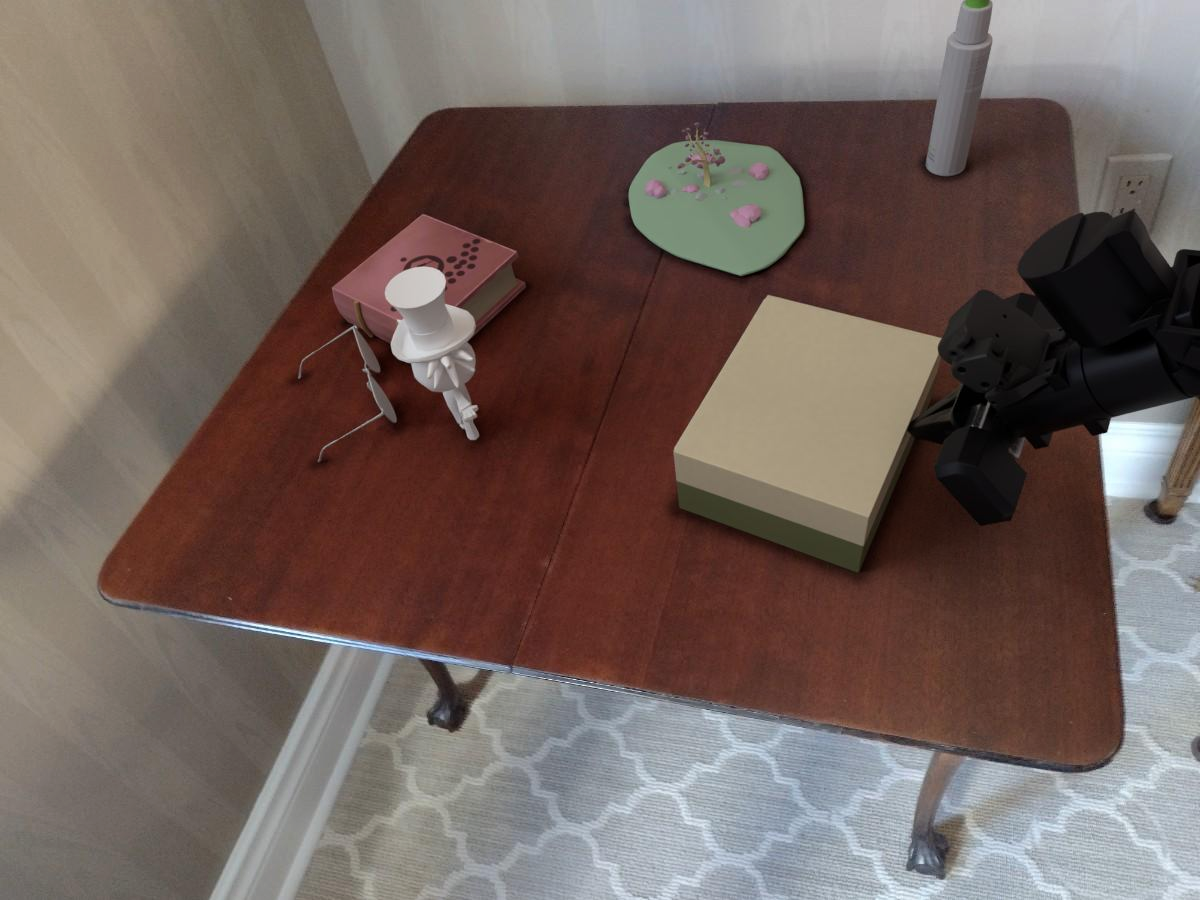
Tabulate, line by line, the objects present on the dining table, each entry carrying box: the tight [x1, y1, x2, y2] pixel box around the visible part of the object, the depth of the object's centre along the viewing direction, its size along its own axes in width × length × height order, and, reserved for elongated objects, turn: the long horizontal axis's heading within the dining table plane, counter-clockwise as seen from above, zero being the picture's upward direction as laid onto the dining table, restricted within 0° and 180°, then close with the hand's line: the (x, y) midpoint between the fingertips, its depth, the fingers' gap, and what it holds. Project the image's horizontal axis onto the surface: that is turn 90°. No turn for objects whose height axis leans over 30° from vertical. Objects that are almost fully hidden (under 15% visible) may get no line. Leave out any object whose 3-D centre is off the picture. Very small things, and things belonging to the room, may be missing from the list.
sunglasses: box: [297, 325, 398, 463], centre depth 90 cm, size 14×8×5 cm, turn 21°
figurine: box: [385, 267, 480, 441], centre depth 80 cm, size 10×8×18 cm
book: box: [331, 213, 527, 344], centre depth 97 cm, size 14×15×5 cm
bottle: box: [925, 0, 994, 177], centre depth 95 cm, size 4×4×20 cm
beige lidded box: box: [672, 294, 942, 573], centre depth 76 cm, size 16×20×8 cm
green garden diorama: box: [628, 121, 805, 277], centre depth 100 cm, size 25×21×9 cm
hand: (911, 430), depth 71 cm, fingers closed, pressing on beige lidded box
